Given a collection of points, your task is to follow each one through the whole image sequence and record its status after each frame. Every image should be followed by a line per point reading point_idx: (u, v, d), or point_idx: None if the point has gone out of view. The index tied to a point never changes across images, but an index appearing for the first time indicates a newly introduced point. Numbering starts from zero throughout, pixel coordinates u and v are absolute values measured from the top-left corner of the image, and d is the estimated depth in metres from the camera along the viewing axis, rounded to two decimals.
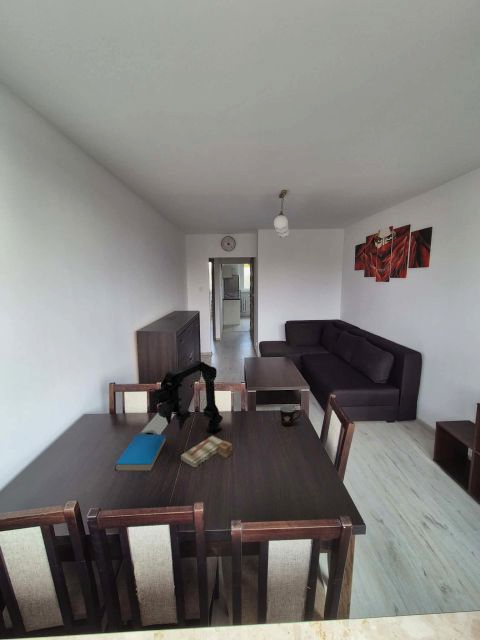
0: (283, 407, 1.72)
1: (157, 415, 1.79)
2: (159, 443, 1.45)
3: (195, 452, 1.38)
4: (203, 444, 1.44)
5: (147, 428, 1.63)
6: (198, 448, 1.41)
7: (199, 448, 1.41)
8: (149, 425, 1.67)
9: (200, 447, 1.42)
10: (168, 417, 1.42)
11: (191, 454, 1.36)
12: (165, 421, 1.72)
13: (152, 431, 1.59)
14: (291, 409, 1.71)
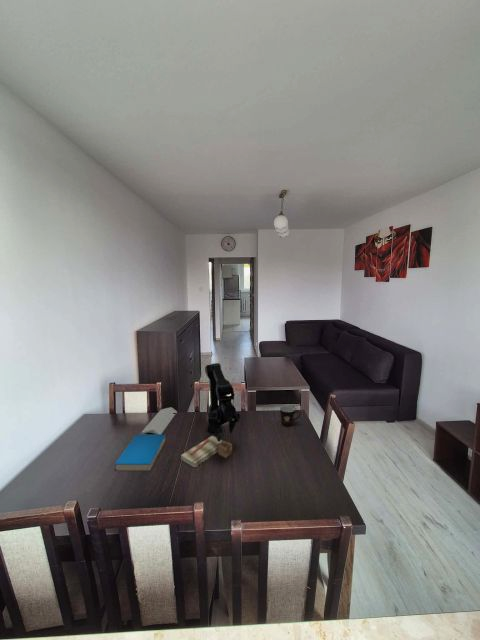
0: (283, 407, 1.72)
1: (157, 415, 1.79)
2: (159, 443, 1.45)
3: (195, 452, 1.38)
4: (203, 444, 1.44)
5: (147, 428, 1.63)
6: (198, 448, 1.41)
7: (199, 448, 1.41)
8: (149, 425, 1.67)
9: (200, 447, 1.42)
10: (230, 426, 1.43)
11: (191, 454, 1.36)
12: (165, 421, 1.72)
13: (152, 431, 1.59)
14: (291, 409, 1.71)
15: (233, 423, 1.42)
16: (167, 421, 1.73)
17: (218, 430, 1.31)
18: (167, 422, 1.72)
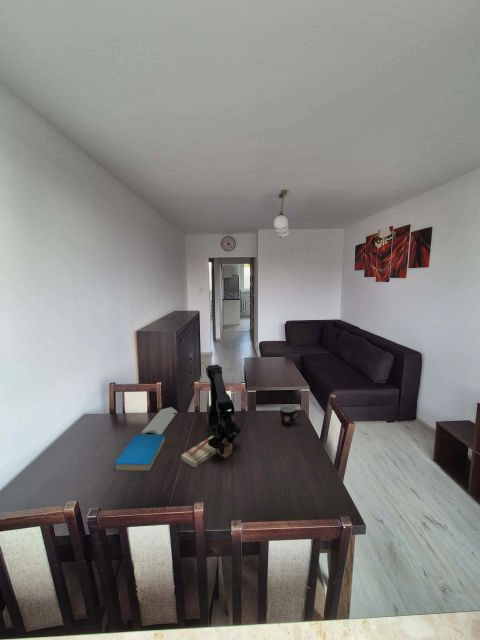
0: (283, 407, 1.72)
1: (158, 415, 1.79)
2: (158, 443, 1.45)
3: (195, 452, 1.38)
4: (203, 444, 1.44)
5: (148, 428, 1.63)
6: (198, 448, 1.41)
7: (199, 448, 1.41)
8: (150, 425, 1.67)
9: (200, 447, 1.42)
10: None
11: (191, 454, 1.36)
12: (166, 421, 1.72)
13: (153, 431, 1.59)
14: (291, 409, 1.71)
15: (231, 439, 1.42)
16: (167, 421, 1.73)
17: (218, 446, 1.32)
18: (167, 422, 1.72)
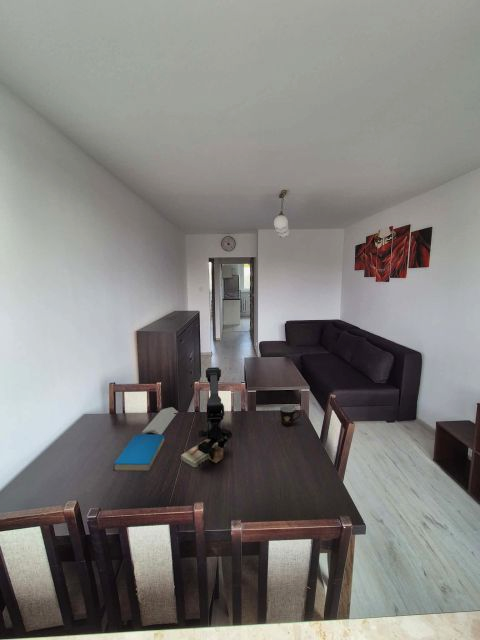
0: (283, 407, 1.72)
1: (158, 415, 1.80)
2: (158, 443, 1.45)
3: (195, 452, 1.38)
4: None
5: (148, 428, 1.63)
6: None
7: None
8: (150, 425, 1.67)
9: None
10: None
11: (191, 454, 1.36)
12: (166, 421, 1.72)
13: (153, 431, 1.59)
14: (291, 409, 1.71)
15: (222, 443, 1.36)
16: (168, 421, 1.73)
17: (208, 450, 1.26)
18: (168, 422, 1.72)
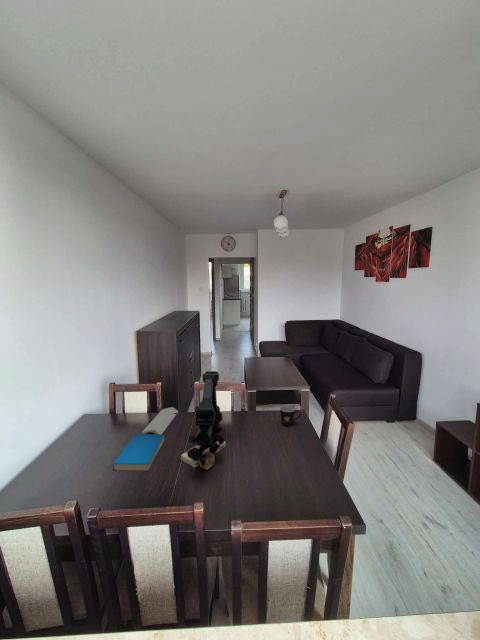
0: (283, 407, 1.72)
1: (159, 415, 1.80)
2: (157, 443, 1.45)
3: None
4: None
5: (148, 428, 1.64)
6: (198, 448, 1.41)
7: None
8: (150, 425, 1.67)
9: None
10: None
11: None
12: (166, 421, 1.72)
13: (153, 431, 1.59)
14: (291, 409, 1.71)
15: (213, 449, 1.32)
16: (168, 421, 1.73)
17: (198, 457, 1.22)
18: (168, 422, 1.72)
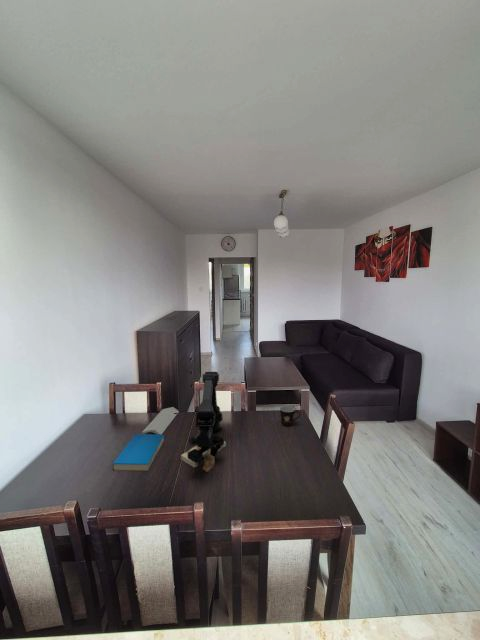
0: (283, 407, 1.72)
1: (159, 415, 1.80)
2: (157, 443, 1.45)
3: None
4: None
5: (149, 428, 1.64)
6: (198, 448, 1.41)
7: (199, 448, 1.41)
8: (151, 425, 1.67)
9: (200, 447, 1.42)
10: (212, 453, 1.34)
11: None
12: (167, 421, 1.72)
13: (153, 431, 1.60)
14: (291, 409, 1.71)
15: (215, 450, 1.32)
16: (168, 421, 1.73)
17: (198, 459, 1.22)
18: (168, 422, 1.72)
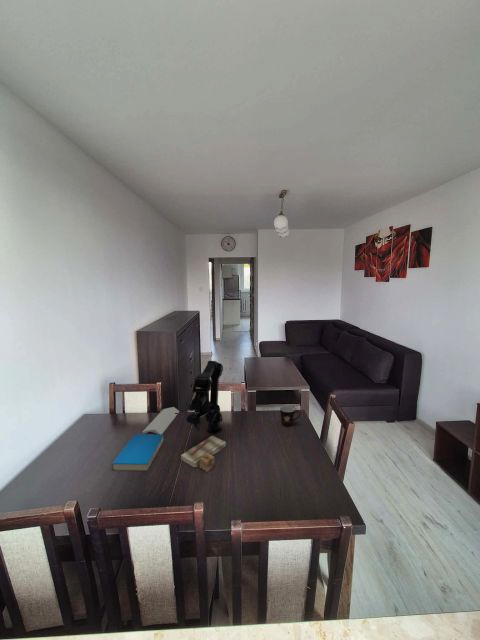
0: (283, 407, 1.72)
1: (159, 414, 1.80)
2: (156, 443, 1.45)
3: (195, 452, 1.38)
4: (203, 444, 1.44)
5: (149, 427, 1.64)
6: (198, 448, 1.41)
7: (199, 448, 1.41)
8: (151, 424, 1.67)
9: (200, 447, 1.42)
10: (210, 418, 1.47)
11: (191, 454, 1.36)
12: (167, 421, 1.72)
13: (154, 430, 1.60)
14: (291, 409, 1.71)
15: (212, 415, 1.46)
16: (169, 421, 1.73)
17: (196, 421, 1.34)
18: (169, 422, 1.72)
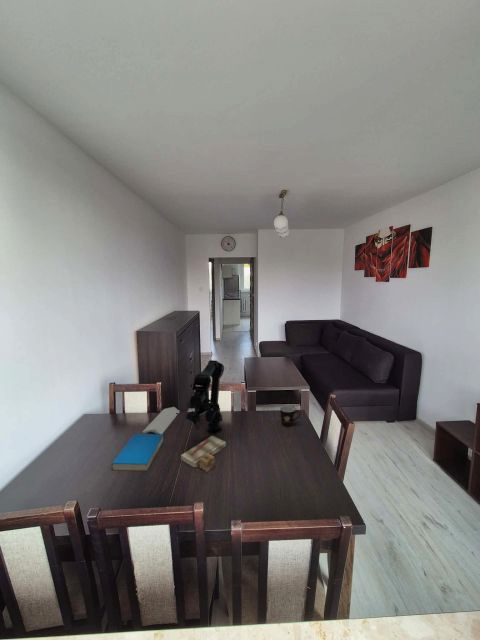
0: (283, 407, 1.72)
1: (160, 414, 1.80)
2: (156, 443, 1.45)
3: (195, 452, 1.38)
4: (203, 444, 1.44)
5: (149, 427, 1.64)
6: (198, 448, 1.41)
7: (199, 448, 1.41)
8: (151, 424, 1.68)
9: (200, 447, 1.42)
10: (209, 416, 1.48)
11: (191, 454, 1.36)
12: (167, 421, 1.72)
13: (154, 430, 1.60)
14: (291, 409, 1.71)
15: (212, 413, 1.47)
16: (169, 421, 1.73)
17: (196, 419, 1.36)
18: (169, 422, 1.72)
